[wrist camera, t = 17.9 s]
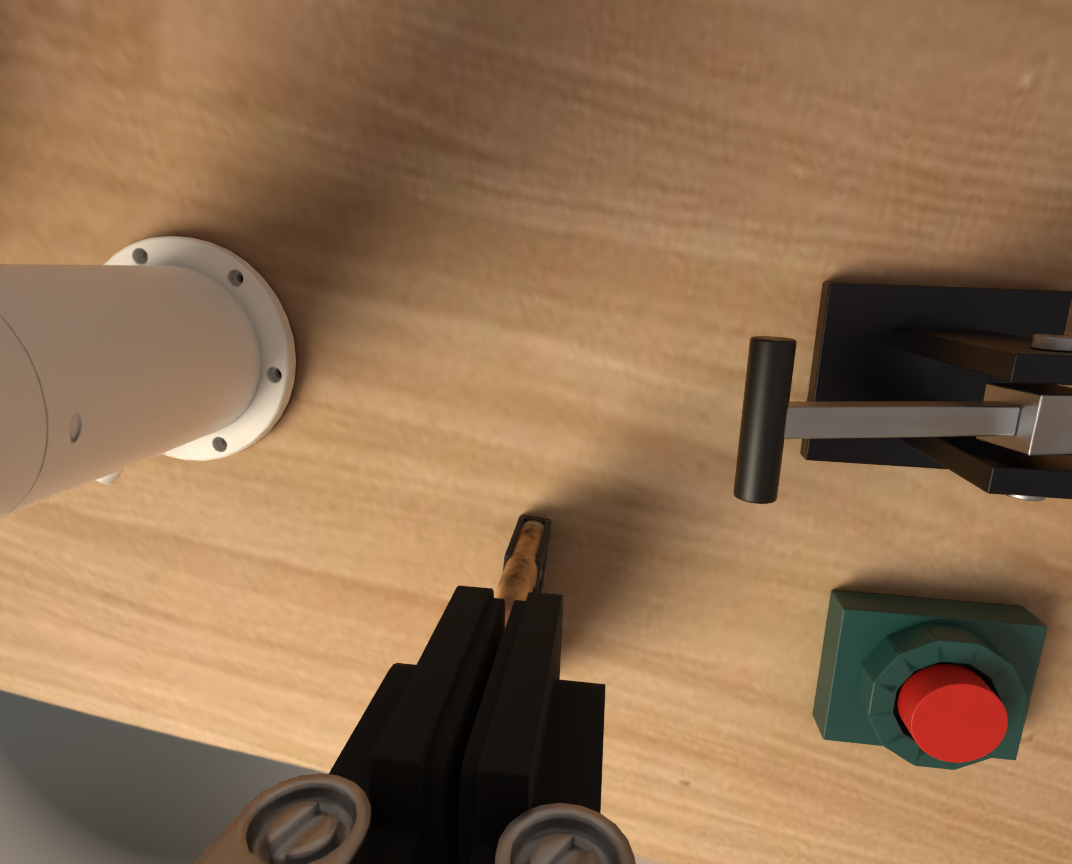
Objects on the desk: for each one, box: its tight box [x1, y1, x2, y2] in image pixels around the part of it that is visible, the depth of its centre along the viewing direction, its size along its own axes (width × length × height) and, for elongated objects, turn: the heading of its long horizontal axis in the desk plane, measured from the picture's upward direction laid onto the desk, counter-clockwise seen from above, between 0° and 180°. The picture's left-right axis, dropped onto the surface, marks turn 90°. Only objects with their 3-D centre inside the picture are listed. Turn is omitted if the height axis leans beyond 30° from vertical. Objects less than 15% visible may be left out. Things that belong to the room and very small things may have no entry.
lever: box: [734, 336, 1072, 504], centre depth 24 cm, size 13×6×2 cm, turn 89°
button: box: [898, 664, 1008, 763], centre depth 34 cm, size 4×4×2 cm
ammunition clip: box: [497, 515, 552, 627], centre depth 34 cm, size 11×2×12 cm, turn 173°
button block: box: [813, 590, 1047, 770], centre depth 36 cm, size 10×8×4 cm
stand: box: [800, 282, 1072, 501], centre depth 29 cm, size 11×9×12 cm
